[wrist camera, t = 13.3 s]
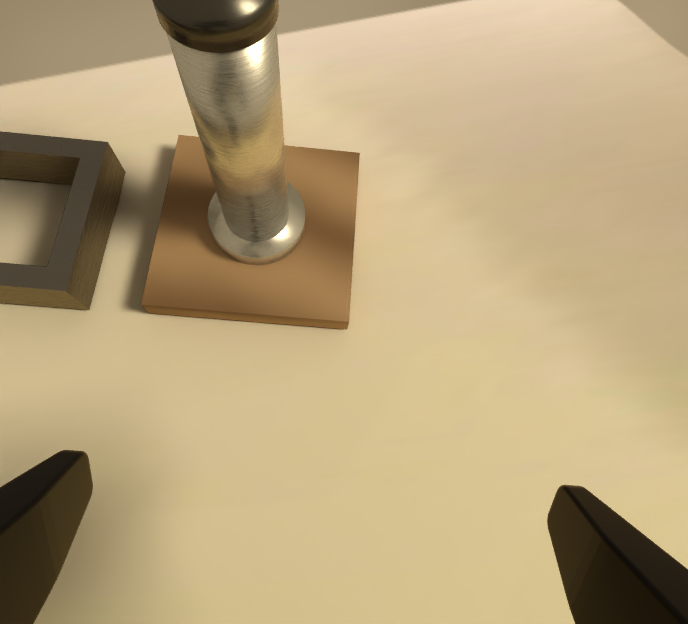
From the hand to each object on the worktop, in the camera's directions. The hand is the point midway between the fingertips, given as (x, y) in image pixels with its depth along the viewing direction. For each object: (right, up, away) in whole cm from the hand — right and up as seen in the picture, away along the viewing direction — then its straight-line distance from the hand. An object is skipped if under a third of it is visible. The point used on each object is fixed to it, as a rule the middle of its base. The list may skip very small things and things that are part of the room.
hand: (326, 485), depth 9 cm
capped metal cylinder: (-4, +8, +16) cm, 18 cm away
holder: (-16, +8, +16) cm, 24 cm away
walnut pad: (-4, +8, +17) cm, 19 cm away
